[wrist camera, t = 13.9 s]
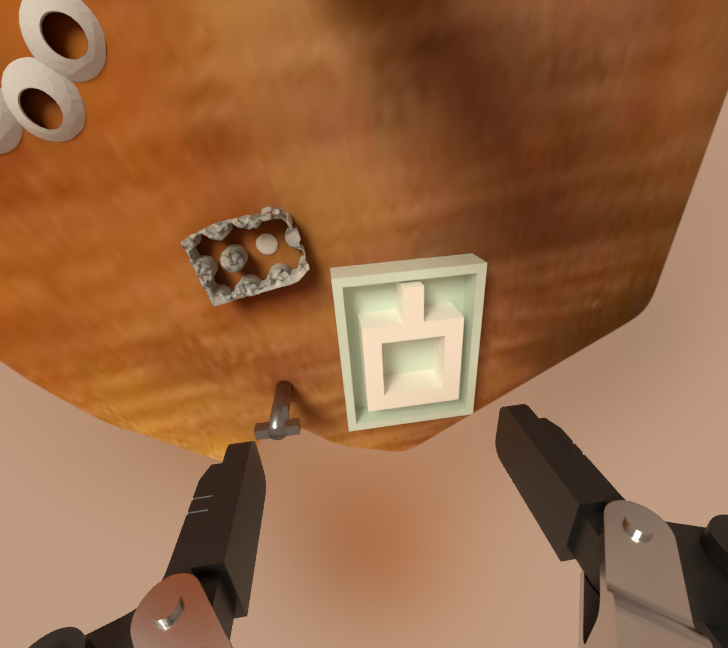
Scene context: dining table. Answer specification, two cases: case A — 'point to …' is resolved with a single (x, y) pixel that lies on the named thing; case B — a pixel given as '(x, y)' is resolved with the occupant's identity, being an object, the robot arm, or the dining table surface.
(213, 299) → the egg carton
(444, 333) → the cream rectangular frame
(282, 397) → the T-head stake
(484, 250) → the dining table surface
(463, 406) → the tray
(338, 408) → the dining table surface
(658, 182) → the dining table surface
